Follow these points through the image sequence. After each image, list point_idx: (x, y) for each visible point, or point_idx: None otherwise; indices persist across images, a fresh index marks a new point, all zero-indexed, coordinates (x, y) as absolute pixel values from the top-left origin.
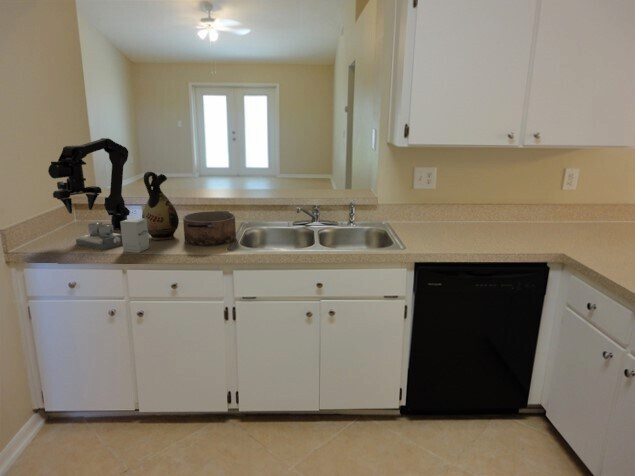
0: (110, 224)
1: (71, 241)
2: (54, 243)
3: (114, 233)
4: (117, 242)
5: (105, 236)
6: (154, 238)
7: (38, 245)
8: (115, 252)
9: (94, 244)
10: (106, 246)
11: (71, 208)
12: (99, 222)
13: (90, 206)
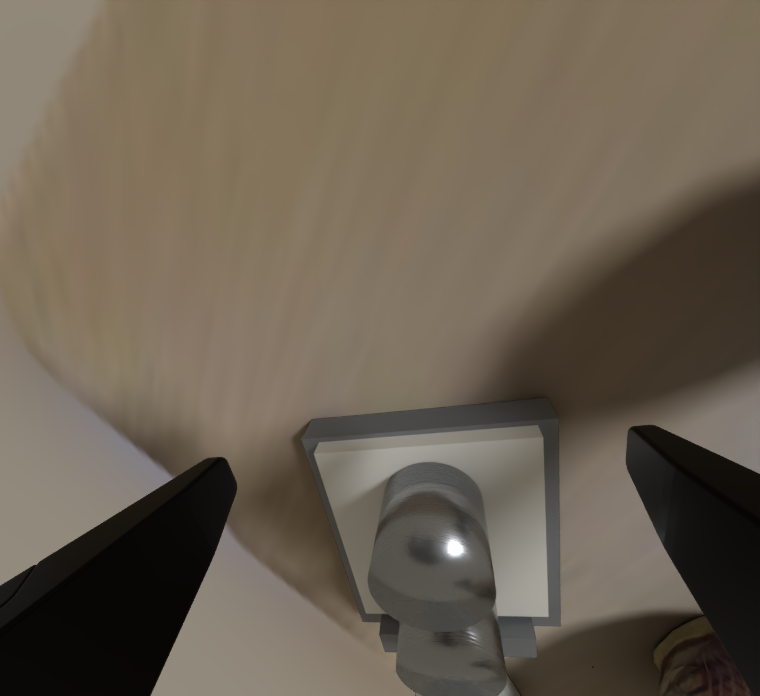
0: (498, 676)
1: (312, 328)
2: (205, 290)
3: (538, 549)
4: None
5: None
6: (658, 661)
7: (108, 259)
8: None
9: (349, 574)
10: None
11: (184, 603)
12: (477, 593)
13: (673, 535)
